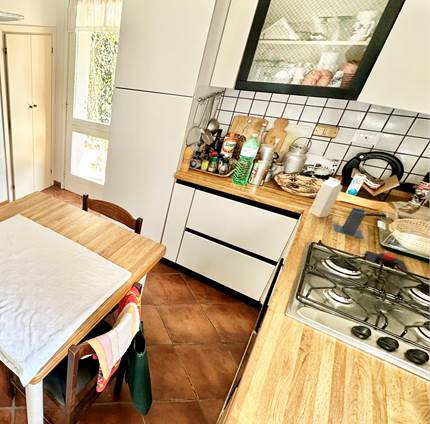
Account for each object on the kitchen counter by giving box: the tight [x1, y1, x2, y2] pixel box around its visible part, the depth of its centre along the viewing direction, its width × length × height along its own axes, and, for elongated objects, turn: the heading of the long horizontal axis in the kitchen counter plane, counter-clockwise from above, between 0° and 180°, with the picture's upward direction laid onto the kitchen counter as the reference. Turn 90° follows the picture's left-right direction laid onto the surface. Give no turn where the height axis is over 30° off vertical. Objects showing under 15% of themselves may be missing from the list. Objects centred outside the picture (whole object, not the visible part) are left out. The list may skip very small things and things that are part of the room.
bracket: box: [333, 207, 367, 240], centre depth 151 cm, size 11×9×13 cm
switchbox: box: [363, 250, 409, 273], centre depth 130 cm, size 12×10×4 cm
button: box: [383, 252, 397, 261], centre depth 129 cm, size 4×4×2 cm
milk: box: [308, 176, 343, 218], centre depth 164 cm, size 6×6×22 cm
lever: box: [358, 211, 391, 220], centre depth 145 cm, size 12×5×2 cm, turn 52°
